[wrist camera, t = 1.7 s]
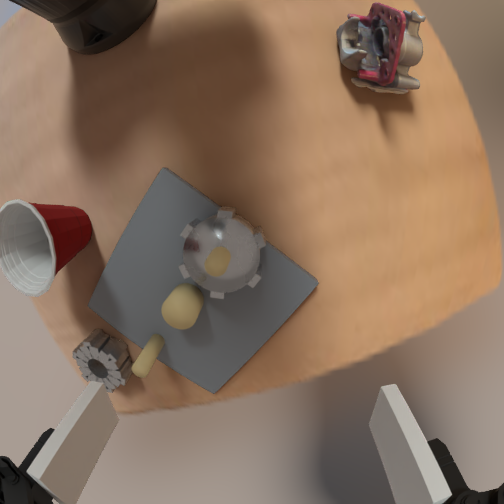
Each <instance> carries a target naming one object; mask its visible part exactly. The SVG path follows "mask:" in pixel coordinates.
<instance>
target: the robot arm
mask: <svg viewBox="0 0 504 504" xmlns="http://www.w3.org/2000/svg"><path fill="white" fill-rule="evenodd" d="M9 1H12V2H14V3H16V4H18V5H20V6H22V7H24V8H26V9H28V10H30V11H32V12H33V13H35V14H37V15H39V16H41V17H43V18H45V19H46V20H48V21H50V22H51V23H53V25H54V26H55V28H56V30H57V32H58V33H59V35H60V37H61V38H62V40H63V42H64V43H65V44H66V45H67V46H68V47H69V48H71V49H72V50H74V51H76V52H78V53H81V54H95V53H99V52H102V51H105V50H107V49H109V48H111V47H113V46H115V45H117V44H119V43H120V42H122V41H123V40H125V39H126V38H127V37H129V36H130V35H131V34H132V33H133V32H135V31H136V30H137V29H138V28H139V27H140V26H141V25H142V24H143V22H144V21H145V20H146V19H147V17H148V16H149V15H150V13H151V11H152V10H153V8H154V5H155V2H156V0H9ZM118 421H119V418H118V416H117V414H116V411H115V409H114V407H113V405H112V403H111V400H110V398H109V396H108V393H107V391H106V389H105V386H104V384H103V383H101V382H96V381H91V382H90V383H89V384H88V385H87V387H86V388H85V390H84V391H83V392H82V393H81V395H80V396H79V397H78V399H77V400H76V401H75V403H74V404H73V406H72V407H71V408H70V410H69V411H68V412H67V414H66V415H65V417H64V418H63V419H62V421H61V422H60V423H59V425H58V426H57V427H56V429H52V428H50V429H48V430H47V431H45V432H44V433H43V434H42V435H41V437H40V438H39V440H38V442H36V444H35V445H34V447H33V448H32V449H31V451H30V452H29V454H28V455H27V456H26V458H25V459H24V461H23V462H22V464H21V465H20V466H19V467H18V468H17V467H16V466H15V464H14V463H13V462H12V461H11V460H10V459H9V458H8V457H5V456H0V504H53V502H52V499H53V498H54V499H55V500H56V501H57V502H58V503H59V504H76V503H77V501H78V499H79V497H80V495H81V493H82V490H83V489H84V487H85V485H86V483H87V481H88V478H89V477H90V475H91V473H92V471H93V469H94V467H95V465H96V463H97V461H98V459H99V457H100V455H101V453H102V451H103V450H104V447H105V445H106V444H107V442H108V440H109V438H110V436H111V434H112V433H113V431H114V429H115V427H116V425H117V423H118ZM369 426H370V429H371V432H372V434H373V437H374V440H375V443H376V445H377V448H378V451H379V454H380V457H381V460H382V463H383V466H384V469H385V472H386V474H387V477H388V481H389V483H390V487H391V490H392V493H393V496H394V499H395V502H396V504H504V483H503V484H502V485H501V486H500V487H499V488H497V489H493V490H489V491H485V492H477V491H475V490H470V489H469V488H468V486H467V485H466V483H465V481H464V479H463V477H462V475H461V473H460V471H459V469H458V467H457V466H456V463H455V462H454V460H453V458H452V456H451V455H450V452H449V451H448V449H447V447H446V445H445V444H444V443H442V442H441V441H440V440H439V439H437V438H436V439H434V440H431V441H428V442H427V441H426V439H425V438H424V435H423V433H422V431H421V429H420V428H419V426H418V424H417V422H416V420H415V418H414V416H413V414H412V413H411V411H410V409H409V407H408V405H407V404H406V402H405V400H404V398H403V396H402V394H401V393H400V391H399V389H398V387H397V386H396V384H392V385H387V386H382V387H381V389H380V392H379V395H378V398H377V402H376V405H375V408H374V411H373V414H372V417H371V420H370V423H369Z"/></svg>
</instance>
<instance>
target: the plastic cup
mask: <svg viewBox="0 0 504 504" xmlns="http://www.w3.org/2000/svg"><path fill="white" fill-rule="evenodd" d="M91 233H92V227H91V222H90V219H89V217H88V215H87V214H86V213H85V212H84V211H83V210H82V209H79V208H76V207H70V206H64V205H45V204H36V203H27V202H25V201H23V200H21V199H16V200H12V201H7V202H6V203H5V204H4V205H3V206H2V208H1V209H0V267H1V269H2V271H3V273H4V275H5V277H6V278H7V279H8V280H9V281H10V283H11V284H12V285H13V286H14V287H15V288H16V289H17V290H19V291H20V292H22V293H23V294H25V295H26V296H35V297H39V296H40V295H42V294H44V293H45V292H47V291H48V290H49V288H50V286H51V284H52V282H53V279H54V277H55V275H56V274H57V272H58V271H59V270H60V269H62V268H63V267H64V266H65V265H66V264H67V263H68V262H69V261H70V260H71V259H72V258H74V257H75V256H76V254H77V253H78V252H79V251H81V250H82V249H83V248H84V247H85V246H86V245H87V243H88V242H89V240H90V238H91Z"/></svg>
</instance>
